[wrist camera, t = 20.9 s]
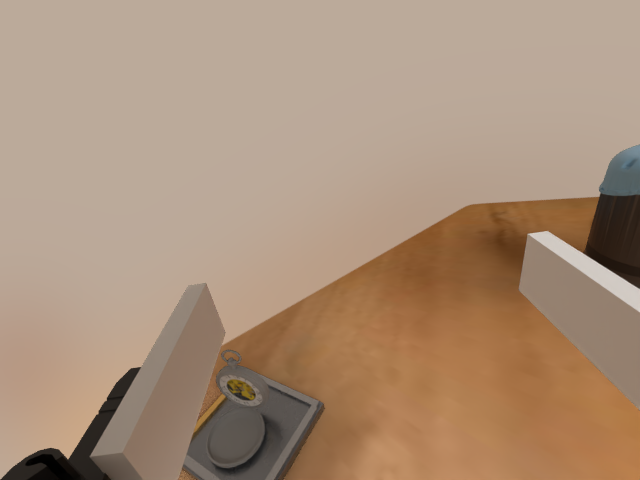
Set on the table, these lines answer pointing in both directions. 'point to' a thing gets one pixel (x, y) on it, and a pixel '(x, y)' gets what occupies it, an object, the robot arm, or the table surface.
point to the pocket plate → (278, 443)
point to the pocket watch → (238, 416)
